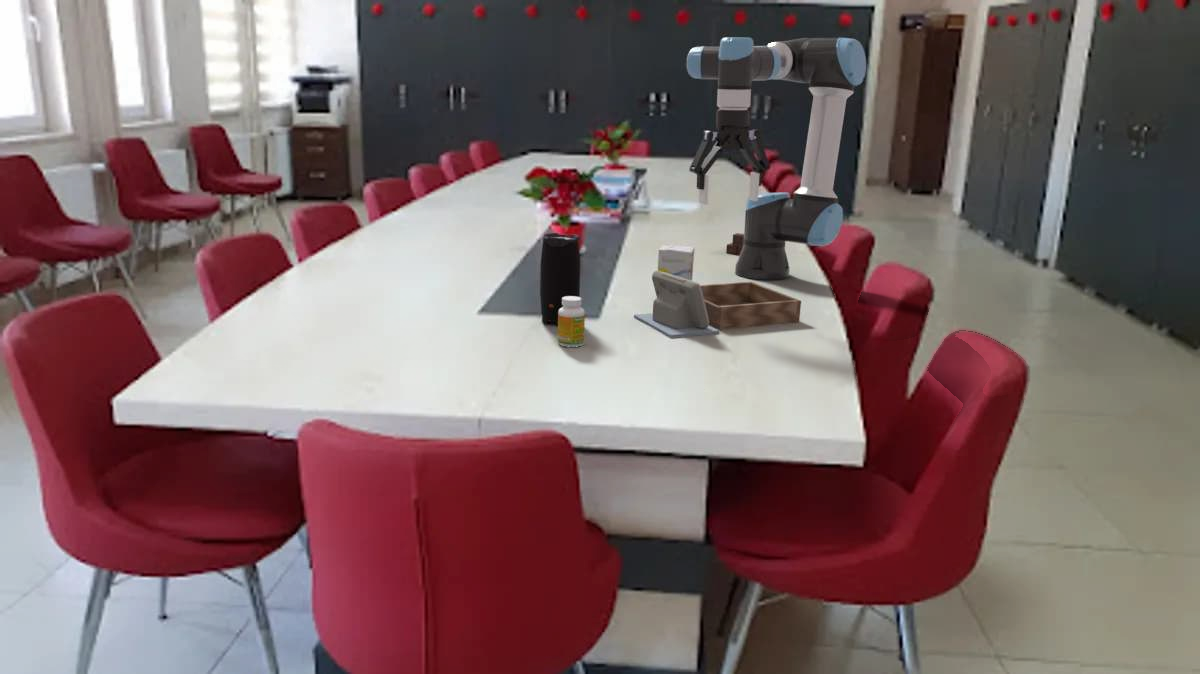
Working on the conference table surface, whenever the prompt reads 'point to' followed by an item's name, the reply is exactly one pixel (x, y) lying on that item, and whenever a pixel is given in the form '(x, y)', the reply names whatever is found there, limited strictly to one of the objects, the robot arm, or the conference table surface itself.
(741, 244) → the stack of crates
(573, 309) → the supplement bottle
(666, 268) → the ink box
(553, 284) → the portable speaker
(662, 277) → the digital clock
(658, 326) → the slate mat
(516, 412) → the conference table surface
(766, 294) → the walnut tray
